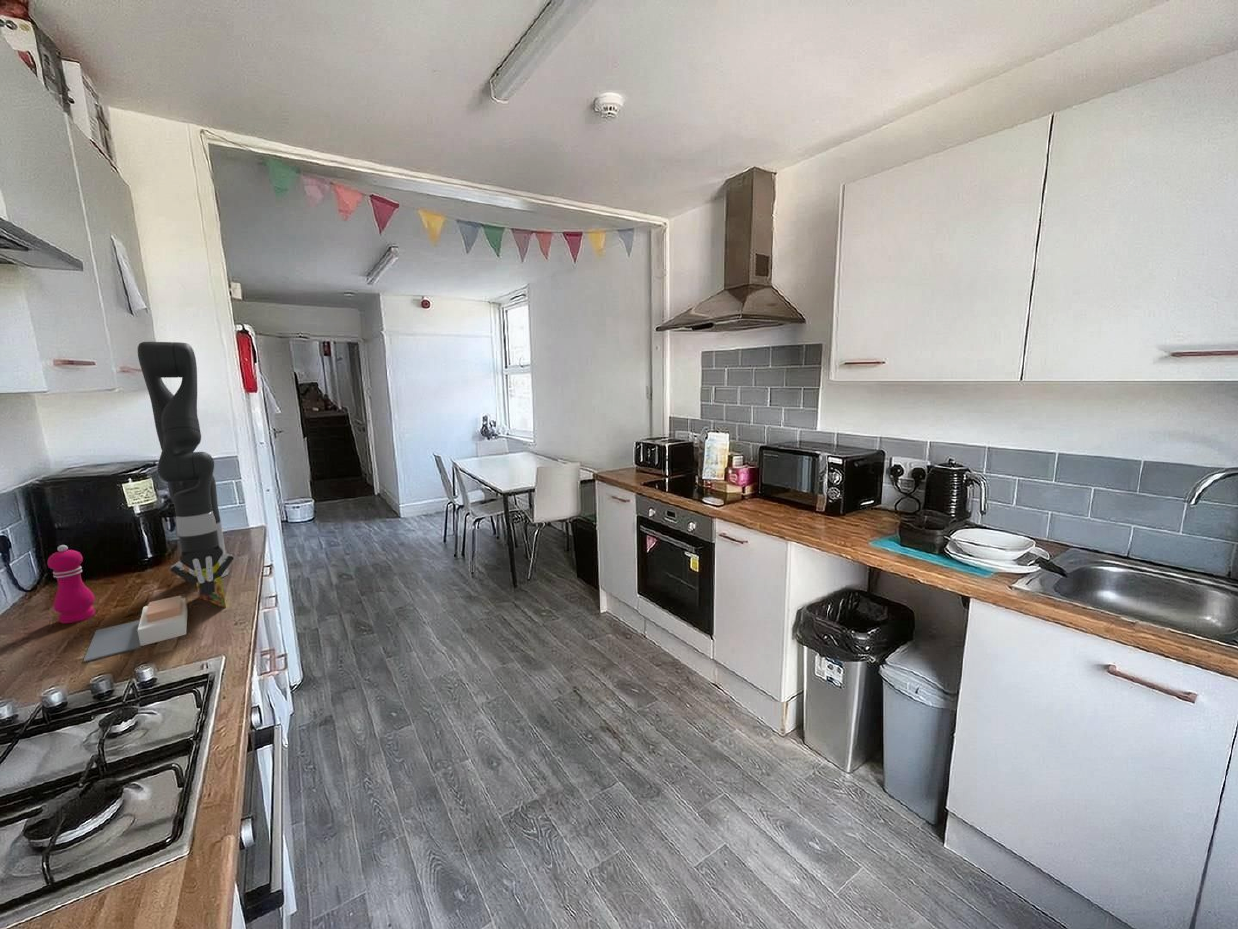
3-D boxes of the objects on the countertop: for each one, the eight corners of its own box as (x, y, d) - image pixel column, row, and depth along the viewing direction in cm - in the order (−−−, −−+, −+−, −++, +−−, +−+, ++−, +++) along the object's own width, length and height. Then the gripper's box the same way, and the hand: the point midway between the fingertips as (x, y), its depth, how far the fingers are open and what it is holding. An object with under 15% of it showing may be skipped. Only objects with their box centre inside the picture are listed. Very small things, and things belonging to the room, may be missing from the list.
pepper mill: (104, 613, 130) (89, 541, 127) (68, 626, 123) (51, 551, 120) (86, 610, 132) (71, 539, 129) (50, 622, 125) (32, 548, 122)
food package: (196, 597, 139) (184, 530, 135) (201, 596, 140) (189, 529, 136) (223, 608, 132) (212, 538, 128) (228, 606, 133) (217, 536, 129)
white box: (146, 621, 125) (143, 606, 125) (187, 611, 130) (185, 597, 130) (140, 646, 113) (137, 630, 113) (186, 634, 118) (183, 619, 118)
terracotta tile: (150, 609, 123) (149, 602, 123) (182, 602, 127) (180, 595, 126) (147, 622, 116) (146, 614, 116) (181, 614, 120) (179, 607, 120)
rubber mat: (96, 631, 120) (96, 630, 120) (146, 619, 126) (146, 618, 126) (83, 662, 107) (83, 661, 107) (140, 648, 112) (139, 646, 112)
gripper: (230, 522, 131) (239, 583, 133) (163, 532, 122) (175, 597, 125) (231, 528, 125) (241, 592, 128) (161, 539, 116) (173, 607, 119)
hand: (208, 594), depth 126 cm, fingers closed
